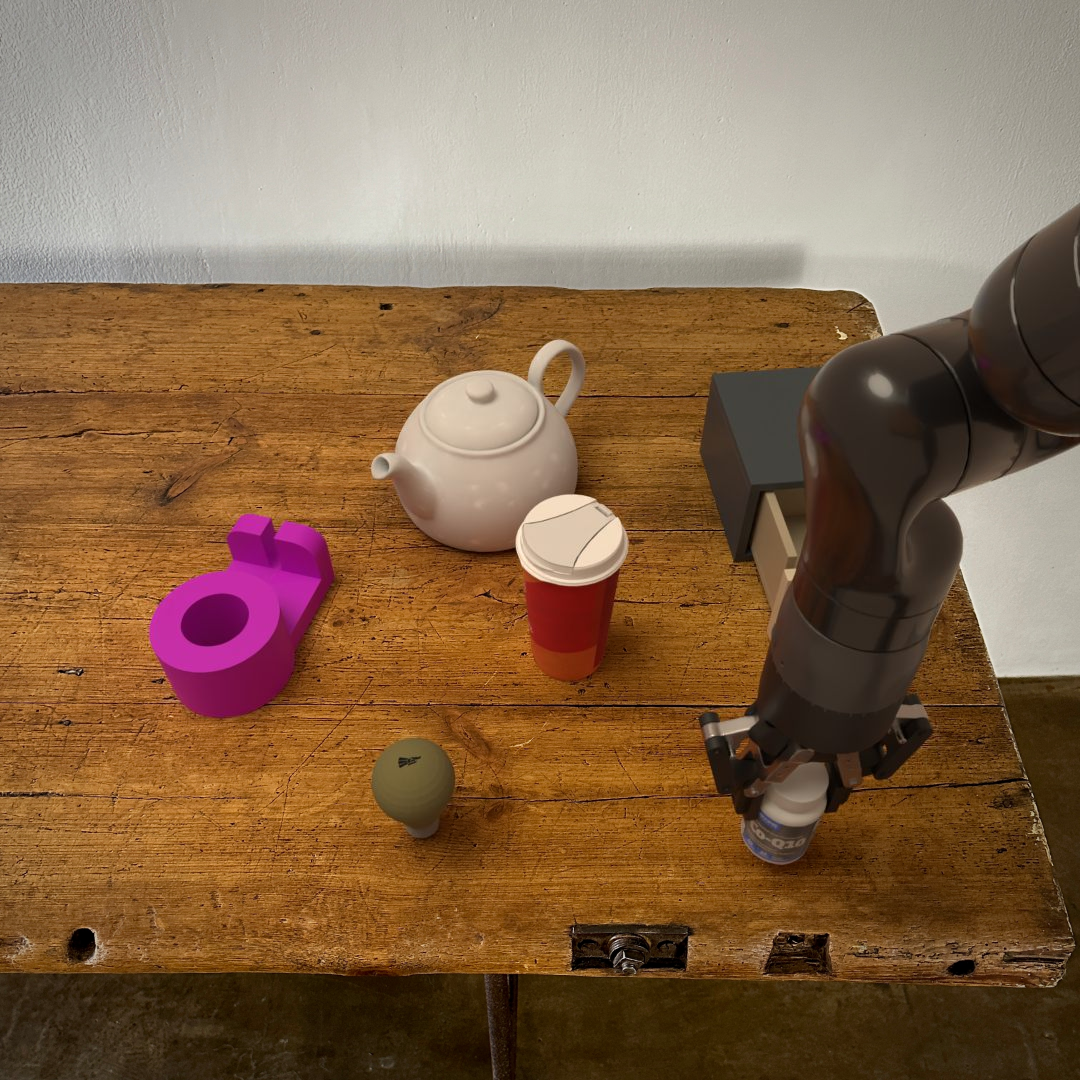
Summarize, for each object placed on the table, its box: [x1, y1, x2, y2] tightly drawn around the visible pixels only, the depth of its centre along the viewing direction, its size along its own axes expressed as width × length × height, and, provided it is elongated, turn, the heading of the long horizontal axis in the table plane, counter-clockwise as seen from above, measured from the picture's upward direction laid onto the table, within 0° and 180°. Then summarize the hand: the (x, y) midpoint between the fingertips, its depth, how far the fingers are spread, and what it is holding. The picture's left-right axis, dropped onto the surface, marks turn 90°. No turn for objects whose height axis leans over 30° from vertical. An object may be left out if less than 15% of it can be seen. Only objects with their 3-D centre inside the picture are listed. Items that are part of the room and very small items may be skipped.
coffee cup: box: [515, 494, 630, 682], centre depth 75 cm, size 8×8×15 cm
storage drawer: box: [748, 488, 807, 641], centre depth 81 cm, size 18×12×8 cm, turn 6°
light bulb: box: [370, 737, 456, 839], centre depth 67 cm, size 6×6×10 cm
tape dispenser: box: [148, 513, 336, 719], centre depth 80 cm, size 16×10×6 cm, turn 165°
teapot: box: [370, 339, 587, 553], centre depth 88 cm, size 19×18×14 cm
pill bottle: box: [740, 762, 829, 865], centre depth 64 cm, size 5×5×8 cm
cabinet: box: [699, 365, 824, 562], centre depth 89 cm, size 15×13×10 cm
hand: (786, 803), depth 64 cm, fingers closed on pill bottle, 4 cm apart
